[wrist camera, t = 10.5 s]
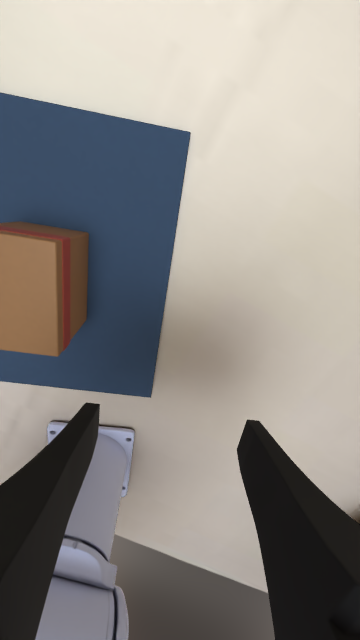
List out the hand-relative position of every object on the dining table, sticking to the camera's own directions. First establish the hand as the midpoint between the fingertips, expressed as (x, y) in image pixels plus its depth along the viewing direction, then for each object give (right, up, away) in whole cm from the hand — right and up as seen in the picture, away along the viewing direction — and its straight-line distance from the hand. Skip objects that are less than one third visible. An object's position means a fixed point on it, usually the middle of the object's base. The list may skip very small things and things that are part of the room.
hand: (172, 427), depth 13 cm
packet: (-9, +8, +6) cm, 13 cm away
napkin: (-9, +9, +6) cm, 14 cm away
